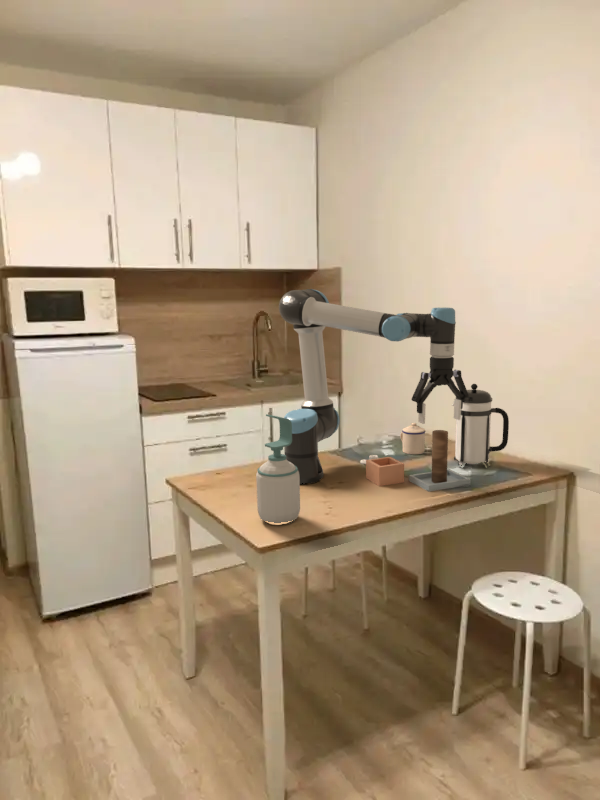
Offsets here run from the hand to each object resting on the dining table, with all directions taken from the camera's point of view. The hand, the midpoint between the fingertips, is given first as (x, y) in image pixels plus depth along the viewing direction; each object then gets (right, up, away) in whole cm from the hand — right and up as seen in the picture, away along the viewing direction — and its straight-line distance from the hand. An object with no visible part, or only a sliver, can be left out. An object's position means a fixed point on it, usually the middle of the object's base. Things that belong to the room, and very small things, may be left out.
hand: (439, 421), depth 199 cm
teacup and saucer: (-18, -17, +29) cm, 39 cm away
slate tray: (+1, -21, +4) cm, 22 cm away
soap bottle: (-52, -28, -23) cm, 63 cm away
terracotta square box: (-17, -21, +8) cm, 28 cm away
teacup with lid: (-1, -14, +44) cm, 46 cm away
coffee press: (+19, -17, +26) cm, 36 cm away
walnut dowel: (+1, -20, +4) cm, 21 cm away
